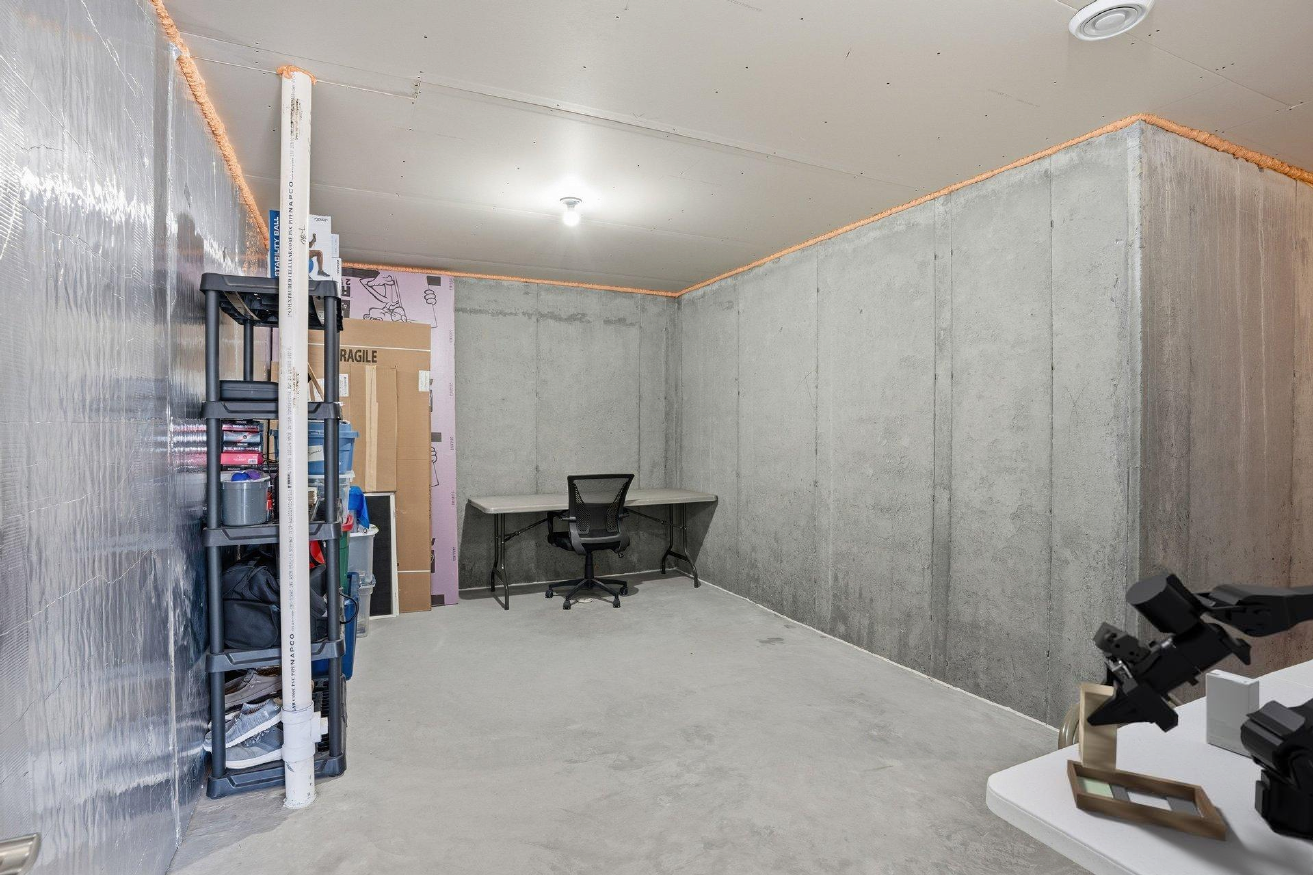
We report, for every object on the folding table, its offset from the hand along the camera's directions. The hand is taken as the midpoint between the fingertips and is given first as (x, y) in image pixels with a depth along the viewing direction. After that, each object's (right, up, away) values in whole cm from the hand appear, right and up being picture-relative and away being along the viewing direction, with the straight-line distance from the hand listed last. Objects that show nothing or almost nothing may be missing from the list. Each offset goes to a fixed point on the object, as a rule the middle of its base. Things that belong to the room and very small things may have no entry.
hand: (1086, 716), depth 96 cm
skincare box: (+34, -11, +14) cm, 38 cm away
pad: (+1, -11, 0) cm, 11 cm away
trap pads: (+8, -11, -3) cm, 14 cm away
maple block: (+1, -7, 0) cm, 7 cm away
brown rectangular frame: (+6, -11, -3) cm, 13 cm away
